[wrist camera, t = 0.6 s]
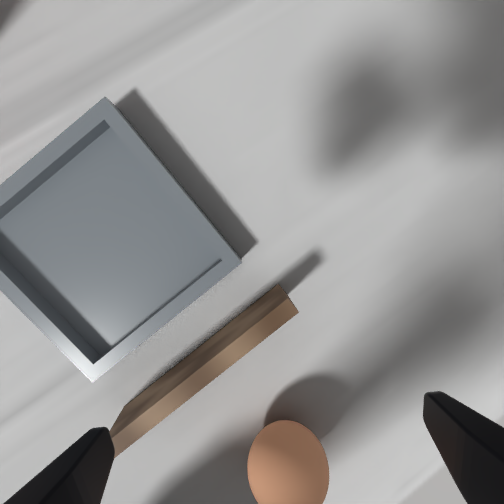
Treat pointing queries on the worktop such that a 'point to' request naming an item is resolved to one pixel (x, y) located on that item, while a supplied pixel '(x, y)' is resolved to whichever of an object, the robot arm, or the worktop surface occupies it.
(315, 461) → the ball
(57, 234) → the dish
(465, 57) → the worktop surface
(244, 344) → the fence
